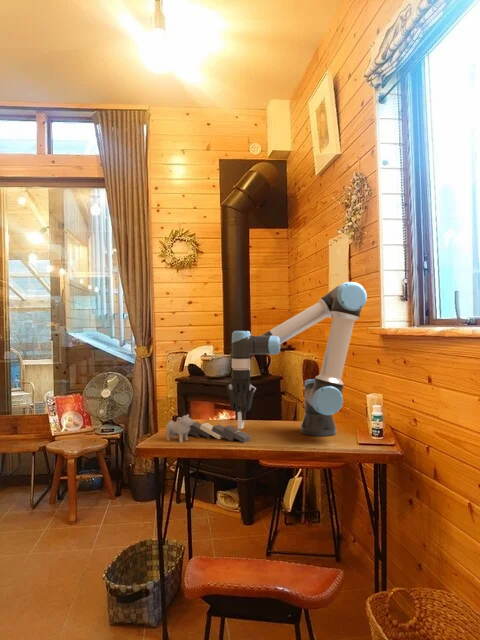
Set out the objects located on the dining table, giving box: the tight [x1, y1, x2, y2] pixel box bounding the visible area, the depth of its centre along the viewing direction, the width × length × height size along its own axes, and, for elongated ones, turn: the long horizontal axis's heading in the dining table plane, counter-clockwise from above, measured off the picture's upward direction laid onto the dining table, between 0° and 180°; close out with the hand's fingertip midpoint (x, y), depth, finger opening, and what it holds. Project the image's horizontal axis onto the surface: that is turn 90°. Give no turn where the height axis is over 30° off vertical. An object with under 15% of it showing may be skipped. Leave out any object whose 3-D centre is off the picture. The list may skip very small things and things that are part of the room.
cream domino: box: [200, 422, 225, 440], centre depth 187 cm, size 2×5×10 cm
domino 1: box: [188, 428, 203, 438], centre depth 191 cm, size 2×5×10 cm
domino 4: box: [223, 424, 251, 443], centre depth 182 cm, size 2×5×10 cm
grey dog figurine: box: [165, 413, 195, 443], centre depth 182 cm, size 5×13×11 cm, turn 57°
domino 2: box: [190, 421, 214, 439], centre depth 189 cm, size 2×5×10 cm
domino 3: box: [212, 424, 237, 442], centre depth 184 cm, size 2×5×10 cm
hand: (240, 428), depth 181 cm, fingers closed
